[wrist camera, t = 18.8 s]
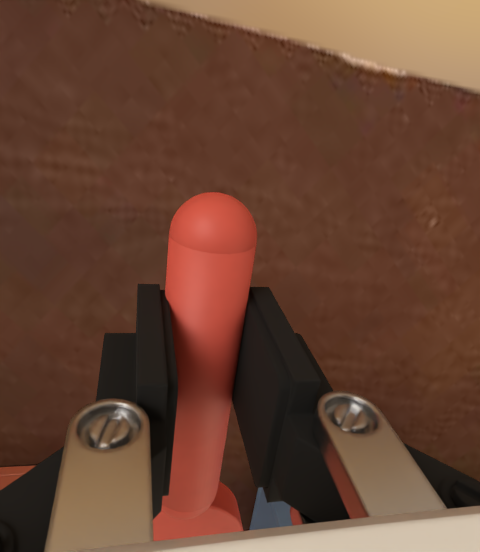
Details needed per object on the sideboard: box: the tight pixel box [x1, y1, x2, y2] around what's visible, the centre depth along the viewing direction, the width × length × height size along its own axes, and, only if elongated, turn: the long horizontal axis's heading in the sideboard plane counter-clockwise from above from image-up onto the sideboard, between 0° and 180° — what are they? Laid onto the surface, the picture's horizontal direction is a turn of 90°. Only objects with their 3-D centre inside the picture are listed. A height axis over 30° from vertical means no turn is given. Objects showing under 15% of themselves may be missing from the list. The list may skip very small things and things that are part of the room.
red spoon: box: [153, 192, 257, 541], centre depth 13 cm, size 14×4×2 cm, turn 173°
